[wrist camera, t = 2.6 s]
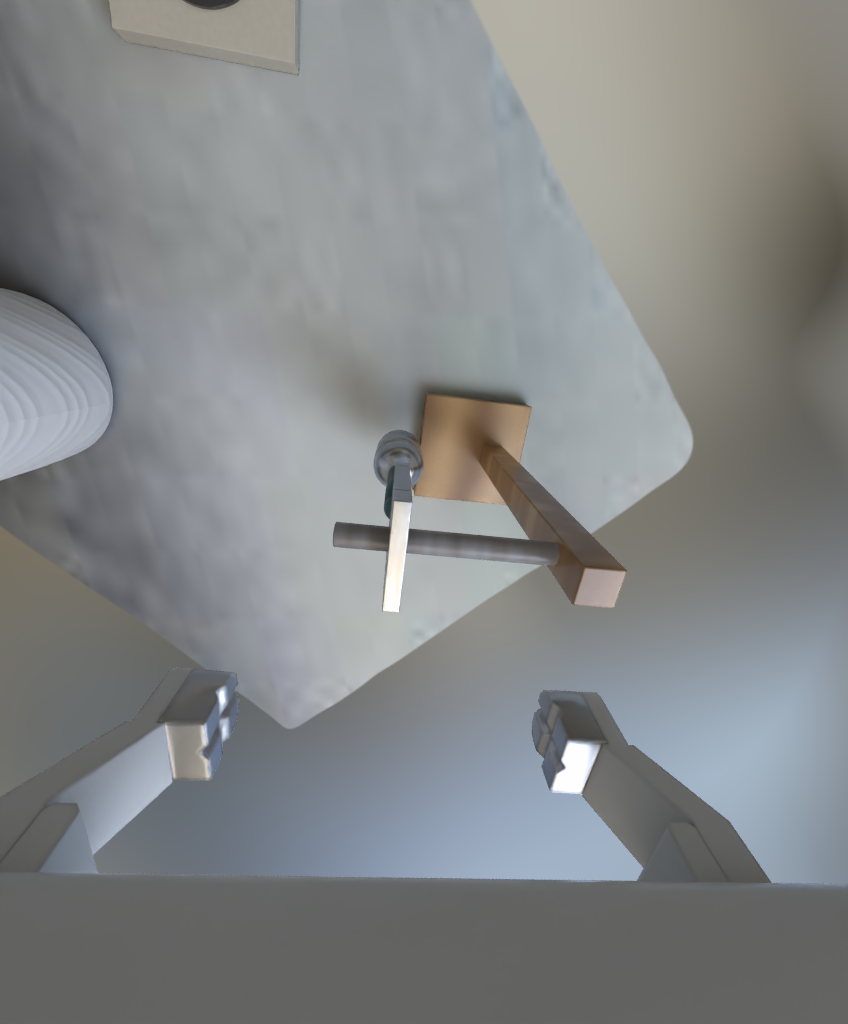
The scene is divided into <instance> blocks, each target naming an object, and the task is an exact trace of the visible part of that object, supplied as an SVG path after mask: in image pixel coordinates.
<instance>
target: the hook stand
mask: <svg viewBox="0 0 848 1024" xmlns="http://www.w3.org/2000/svg"><path fill="white" fill-rule="evenodd" d="M531 409H532V407H530V406H528V405H523V404H515V403H507V402H499V401H491V400H483V399H475V398H467V397H459V396H451V395H443V394H435V393H426V396H425V404H424V412H423V420H422V428H421V437H420V446H421V449H422V455H423V460H424V470H423V474H422V476H421V478H420V480H419V481H418V482H417V483H416V484H415V486H414V496H422V497H432V498H442V499H452V500H462V501H472V502H482V503H492V504H502V505H507V506H508V508H509V509H510V511H511V512H512V514H513V515H514V517H515V518H516V520H517V521H518V523H519V524H520V526H521V527H522V529H523V530H524V532H525V533H526V535H527V536H528V538H529V539H530V540H525V539H515V538H504V537H493V536H482V535H472V534H461V533H450V532H439V531H428V530H418V529H409V534H408V542H407V550H406V553H411V554H422V555H434V556H445V557H456V558H468V559H479V560H491V561H502V562H514V563H525V564H537V565H547V566H548V568H549V570H550V571H551V573H552V574H553V576H554V577H555V579H556V580H557V582H558V583H559V585H560V586H561V588H562V589H563V590H564V592H565V594H566V595H567V597H568V598H569V600H570V601H571V603H572V604H573V605H582V606H594V607H607V608H614V606H615V603H616V601H617V598H618V595H619V592H620V589H621V587H622V584H623V581H624V578H625V576H626V572H627V570H626V569H625V568H624V567H623V566H622V565H621V564H620V563H619V562H618V561H617V560H616V559H615V558H614V557H613V556H612V555H611V554H610V553H609V552H608V551H607V550H606V549H605V548H604V547H603V546H602V545H600V543H599V542H598V541H597V540H596V539H595V538H594V537H592V535H591V534H590V533H589V532H588V531H587V530H586V529H585V528H584V527H583V526H582V525H581V524H580V523H579V522H578V521H577V520H576V519H575V518H574V517H573V516H572V515H571V514H570V513H569V512H568V511H567V510H566V509H565V508H564V507H563V506H562V505H561V504H560V503H559V502H558V501H557V500H556V499H555V498H554V497H553V496H552V495H551V494H550V493H549V492H548V491H547V490H546V489H545V488H544V487H543V486H542V485H541V484H540V483H539V482H538V481H537V480H536V479H535V478H534V477H533V476H532V475H531V474H530V473H529V472H528V471H527V470H526V469H525V468H524V467H523V466H522V465H521V464H520V459H521V454H522V450H523V445H524V441H525V436H526V431H527V427H528V422H529V418H530V413H531ZM389 533H390V527H385V526H375V525H364V524H353V523H342V522H336V524H335V527H334V533H333V546H334V547H342V548H353V549H365V550H376V551H388V543H389Z"/></svg>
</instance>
